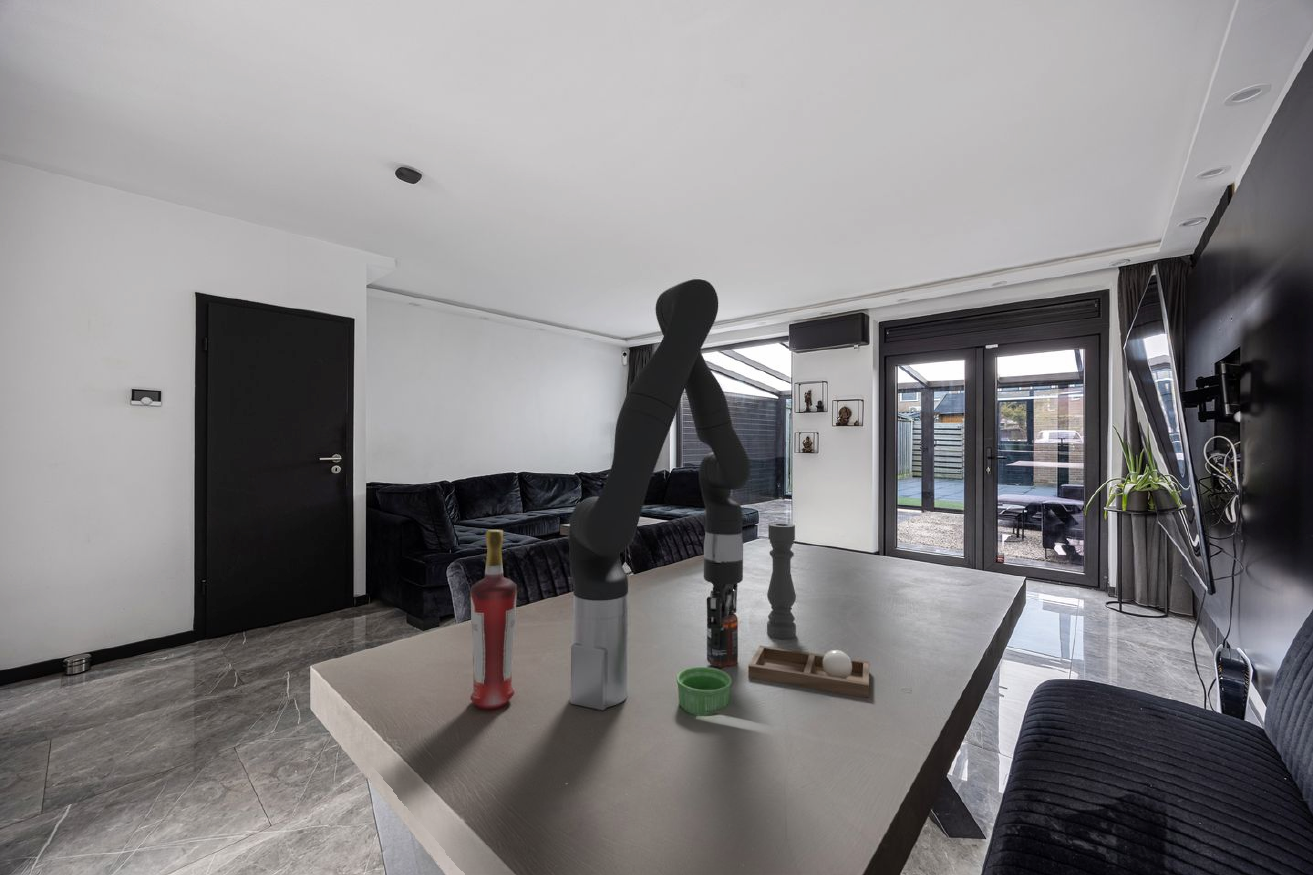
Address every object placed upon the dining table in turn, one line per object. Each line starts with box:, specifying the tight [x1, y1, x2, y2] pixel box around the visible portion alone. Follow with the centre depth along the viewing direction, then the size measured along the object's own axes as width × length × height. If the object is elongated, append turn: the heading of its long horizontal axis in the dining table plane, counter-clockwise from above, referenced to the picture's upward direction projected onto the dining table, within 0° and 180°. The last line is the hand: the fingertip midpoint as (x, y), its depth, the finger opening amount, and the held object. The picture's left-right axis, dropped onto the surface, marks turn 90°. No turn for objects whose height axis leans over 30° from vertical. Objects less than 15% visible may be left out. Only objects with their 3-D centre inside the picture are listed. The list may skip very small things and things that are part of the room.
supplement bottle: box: [706, 603, 739, 668], centre depth 102 cm, size 6×6×11 cm
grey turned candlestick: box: [766, 522, 797, 641], centre depth 117 cm, size 6×6×25 cm
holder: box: [747, 645, 870, 699], centre depth 96 cm, size 10×20×3 cm, turn 68°
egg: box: [822, 649, 852, 679], centre depth 94 cm, size 5×5×5 cm
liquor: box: [469, 529, 518, 711], centre depth 87 cm, size 7×7×28 cm
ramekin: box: [676, 666, 733, 717], centre depth 87 cm, size 9×9×4 cm
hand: (722, 643), depth 102 cm, fingers closed on supplement bottle, 6 cm apart
